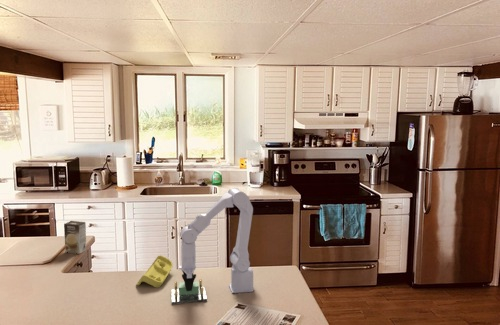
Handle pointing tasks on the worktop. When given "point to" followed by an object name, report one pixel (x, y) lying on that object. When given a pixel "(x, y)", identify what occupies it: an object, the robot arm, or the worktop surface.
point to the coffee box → (75, 237)
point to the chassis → (188, 295)
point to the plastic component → (157, 272)
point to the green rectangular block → (183, 291)
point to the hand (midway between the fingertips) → (188, 287)
